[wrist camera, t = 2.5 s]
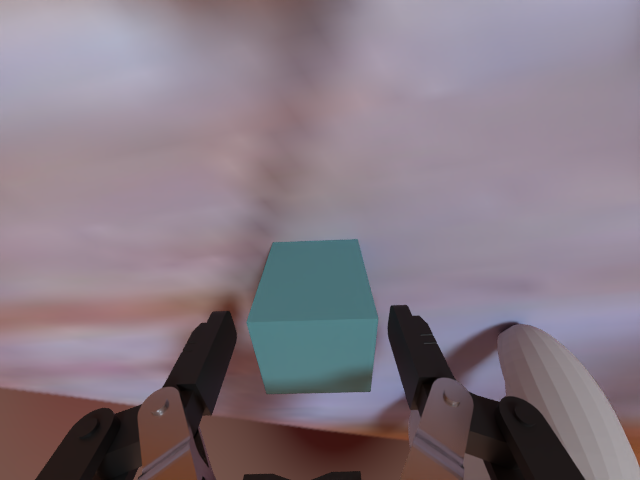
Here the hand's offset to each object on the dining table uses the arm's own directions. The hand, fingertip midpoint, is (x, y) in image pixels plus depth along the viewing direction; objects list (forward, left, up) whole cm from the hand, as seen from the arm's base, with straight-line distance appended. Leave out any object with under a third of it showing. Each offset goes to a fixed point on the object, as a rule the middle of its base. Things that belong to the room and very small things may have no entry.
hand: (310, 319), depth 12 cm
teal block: (0, 0, -4) cm, 4 cm away
